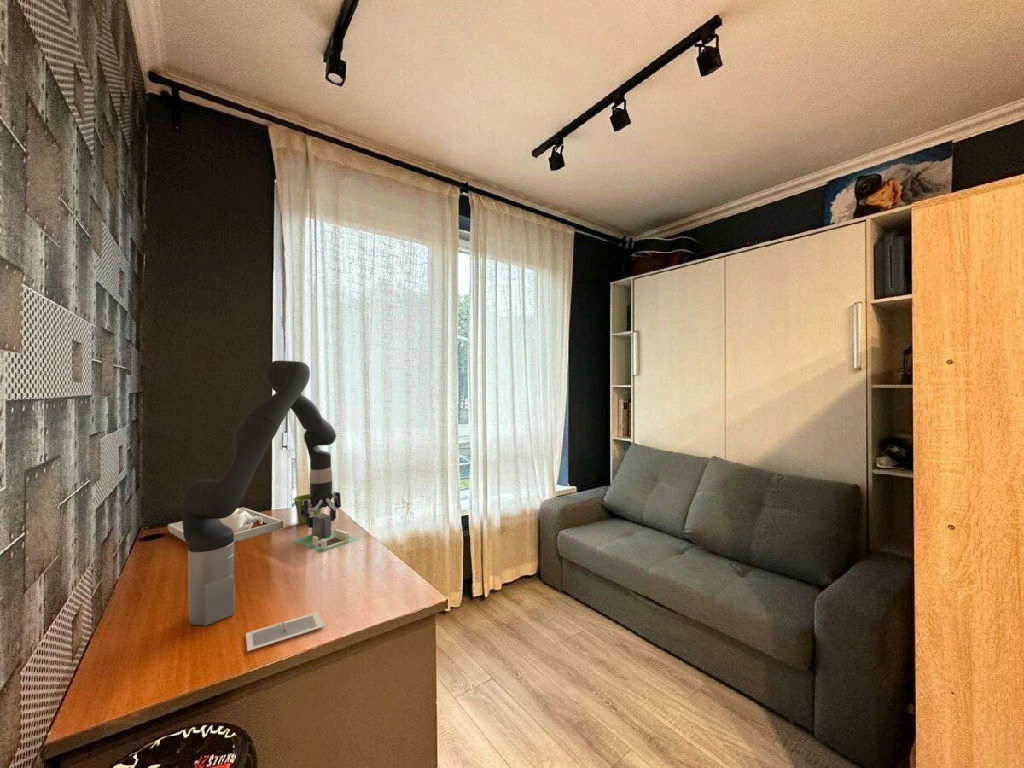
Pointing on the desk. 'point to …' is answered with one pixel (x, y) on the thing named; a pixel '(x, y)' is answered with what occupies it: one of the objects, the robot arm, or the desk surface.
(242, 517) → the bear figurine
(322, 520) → the plug
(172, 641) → the desk surface
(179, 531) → the light grey flat tray
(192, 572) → the robot arm
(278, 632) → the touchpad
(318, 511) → the plant pot
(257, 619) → the desk surface
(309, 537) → the board
